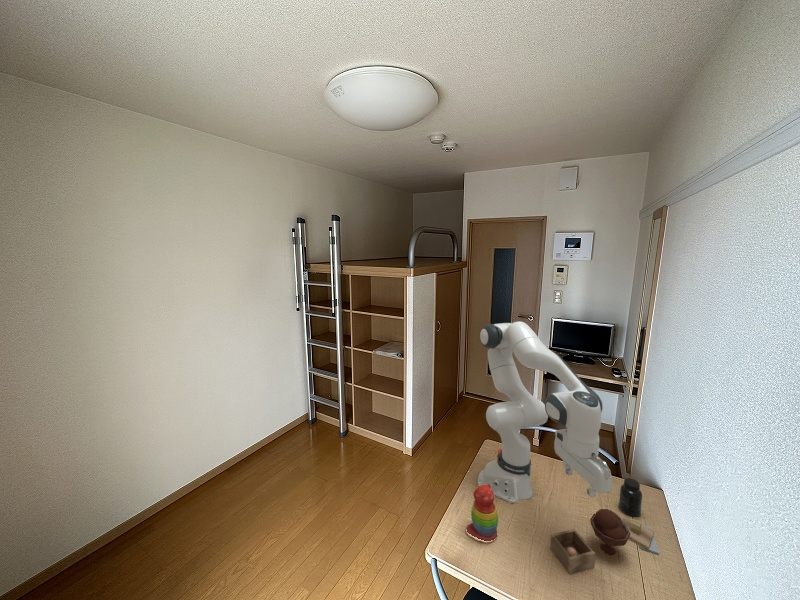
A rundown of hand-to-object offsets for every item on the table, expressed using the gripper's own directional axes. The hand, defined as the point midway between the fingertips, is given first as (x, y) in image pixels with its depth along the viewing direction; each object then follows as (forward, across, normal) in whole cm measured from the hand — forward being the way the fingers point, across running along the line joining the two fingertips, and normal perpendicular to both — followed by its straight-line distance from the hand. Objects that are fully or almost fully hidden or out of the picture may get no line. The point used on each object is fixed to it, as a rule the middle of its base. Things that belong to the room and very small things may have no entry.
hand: (579, 484), depth 101 cm
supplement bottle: (+26, +11, -34) cm, 44 cm away
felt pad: (+26, +2, -26) cm, 37 cm away
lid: (+25, +2, -26) cm, 36 cm away
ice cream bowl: (+26, -2, -12) cm, 29 cm away
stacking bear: (+26, +15, +25) cm, 39 cm away
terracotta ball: (+25, -1, +2) cm, 25 cm away
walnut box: (+26, -1, +2) cm, 26 cm away
